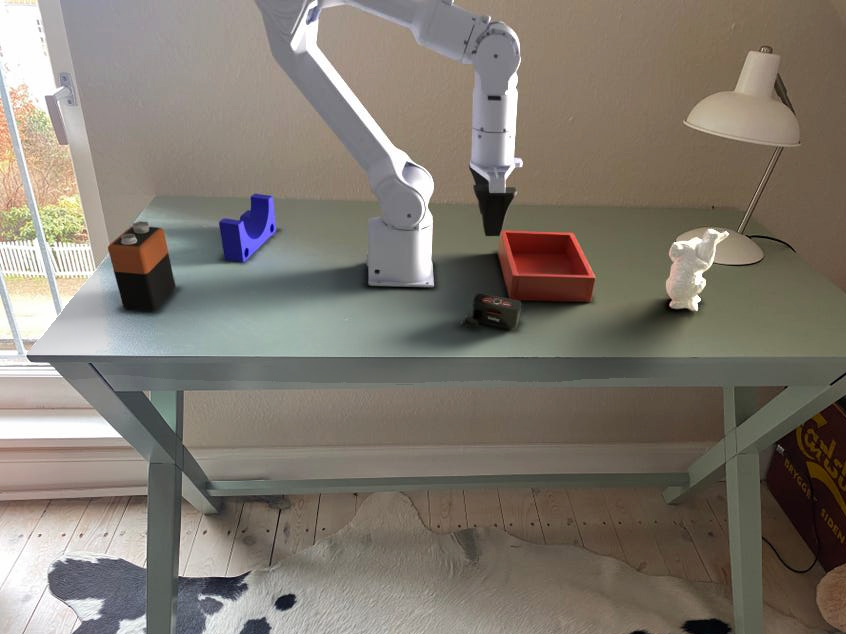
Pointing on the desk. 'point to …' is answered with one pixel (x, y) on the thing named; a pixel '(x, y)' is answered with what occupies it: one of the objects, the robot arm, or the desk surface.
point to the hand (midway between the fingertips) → (490, 224)
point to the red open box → (545, 267)
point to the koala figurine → (690, 268)
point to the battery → (142, 267)
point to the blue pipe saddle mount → (248, 229)
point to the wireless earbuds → (494, 311)
